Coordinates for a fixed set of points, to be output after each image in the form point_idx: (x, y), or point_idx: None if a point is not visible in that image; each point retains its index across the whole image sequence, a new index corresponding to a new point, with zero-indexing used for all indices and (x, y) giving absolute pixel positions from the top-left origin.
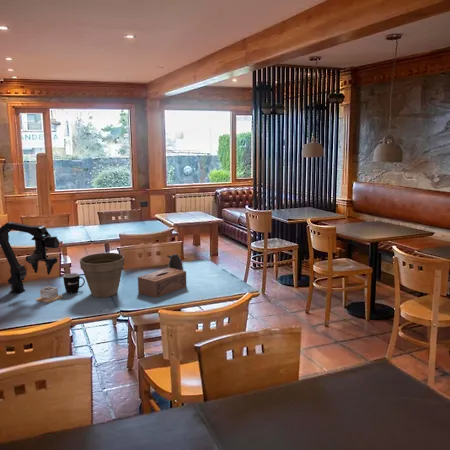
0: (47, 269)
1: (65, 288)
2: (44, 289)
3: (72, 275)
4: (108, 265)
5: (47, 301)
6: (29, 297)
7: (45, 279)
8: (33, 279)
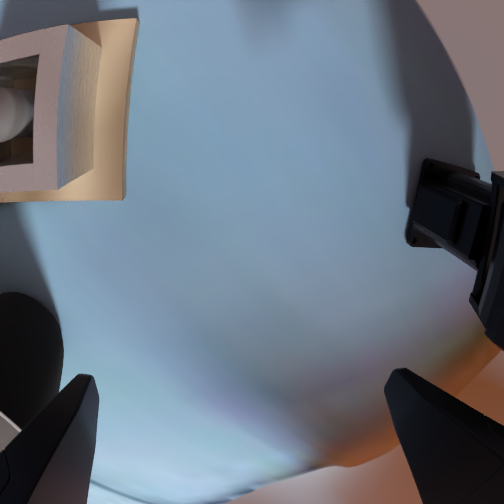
0: (25, 461)
1: (22, 313)
2: (40, 83)
3: None
4: None
5: None
6: (272, 82)
7: (366, 424)
8: None
